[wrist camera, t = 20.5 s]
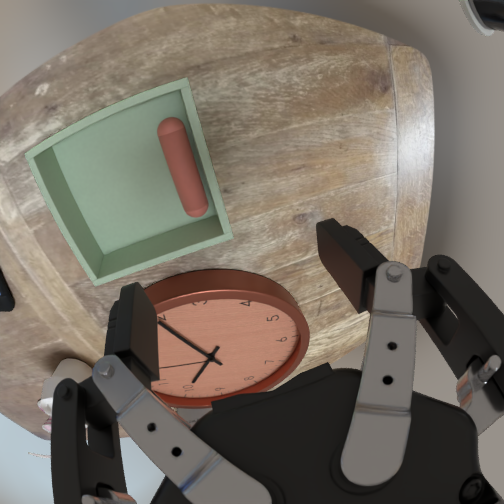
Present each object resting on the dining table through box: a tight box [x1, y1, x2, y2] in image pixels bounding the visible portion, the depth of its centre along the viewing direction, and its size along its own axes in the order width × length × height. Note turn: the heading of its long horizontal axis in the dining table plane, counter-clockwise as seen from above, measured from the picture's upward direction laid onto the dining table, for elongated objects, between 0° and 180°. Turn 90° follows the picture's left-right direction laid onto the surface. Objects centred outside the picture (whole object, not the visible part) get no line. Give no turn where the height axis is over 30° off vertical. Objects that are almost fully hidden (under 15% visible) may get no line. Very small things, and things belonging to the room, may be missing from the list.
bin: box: [25, 77, 234, 286], centre depth 24 cm, size 16×16×5 cm
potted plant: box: [29, 358, 92, 458], centre depth 28 cm, size 13×12×25 cm
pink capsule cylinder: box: [157, 117, 209, 218], centre depth 25 cm, size 11×3×3 cm, turn 12°
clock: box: [144, 269, 310, 409], centre depth 41 cm, size 31×4×31 cm
